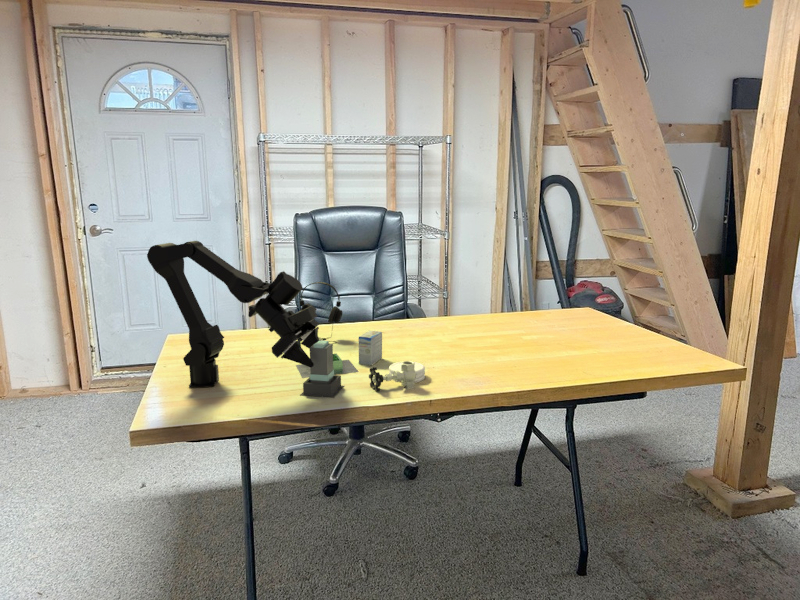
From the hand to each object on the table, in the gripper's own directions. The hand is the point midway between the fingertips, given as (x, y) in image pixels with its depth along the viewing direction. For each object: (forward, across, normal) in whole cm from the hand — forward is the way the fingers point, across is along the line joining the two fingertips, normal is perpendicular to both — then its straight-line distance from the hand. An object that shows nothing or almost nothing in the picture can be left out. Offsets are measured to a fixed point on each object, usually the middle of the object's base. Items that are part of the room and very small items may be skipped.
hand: (319, 360), depth 144 cm
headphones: (-7, +48, +19) cm, 52 cm away
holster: (+6, 0, +6) cm, 9 cm away
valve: (+19, +7, -6) cm, 21 cm away
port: (+3, +17, +9) cm, 20 cm away
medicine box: (+10, +28, +2) cm, 30 cm away
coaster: (+20, +16, -7) cm, 27 cm away
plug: (+6, 0, +5) cm, 8 cm away
